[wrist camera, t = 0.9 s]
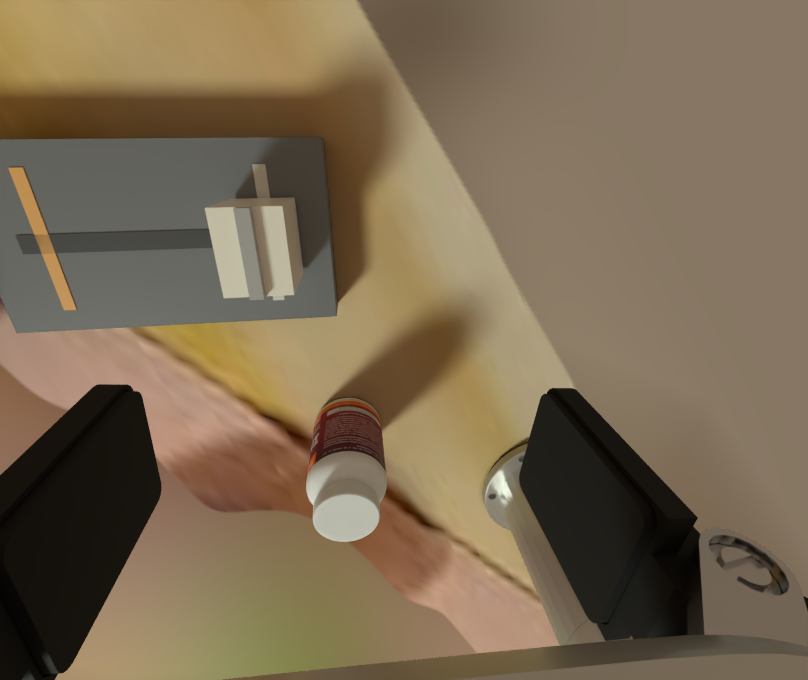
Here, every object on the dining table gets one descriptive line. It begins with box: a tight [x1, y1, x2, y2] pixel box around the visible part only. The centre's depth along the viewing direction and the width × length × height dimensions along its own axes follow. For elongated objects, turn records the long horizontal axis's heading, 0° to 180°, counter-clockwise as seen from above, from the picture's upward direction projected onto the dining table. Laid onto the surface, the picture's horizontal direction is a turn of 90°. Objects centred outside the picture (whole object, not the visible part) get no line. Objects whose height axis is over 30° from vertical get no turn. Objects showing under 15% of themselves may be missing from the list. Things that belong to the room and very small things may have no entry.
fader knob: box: [205, 197, 304, 300], centre depth 24 cm, size 4×5×6 cm
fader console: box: [0, 137, 338, 333], centre depth 28 cm, size 22×12×3 cm, turn 90°
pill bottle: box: [306, 398, 387, 542], centre depth 33 cm, size 6×6×11 cm
